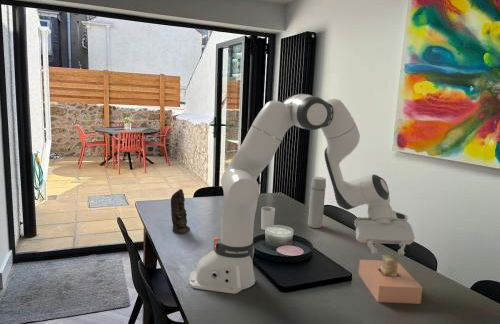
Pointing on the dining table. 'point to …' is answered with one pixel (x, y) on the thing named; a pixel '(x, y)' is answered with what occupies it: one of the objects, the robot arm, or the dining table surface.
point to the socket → (390, 284)
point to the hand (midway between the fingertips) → (388, 254)
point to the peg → (389, 266)
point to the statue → (179, 213)
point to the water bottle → (317, 202)
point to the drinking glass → (267, 217)
